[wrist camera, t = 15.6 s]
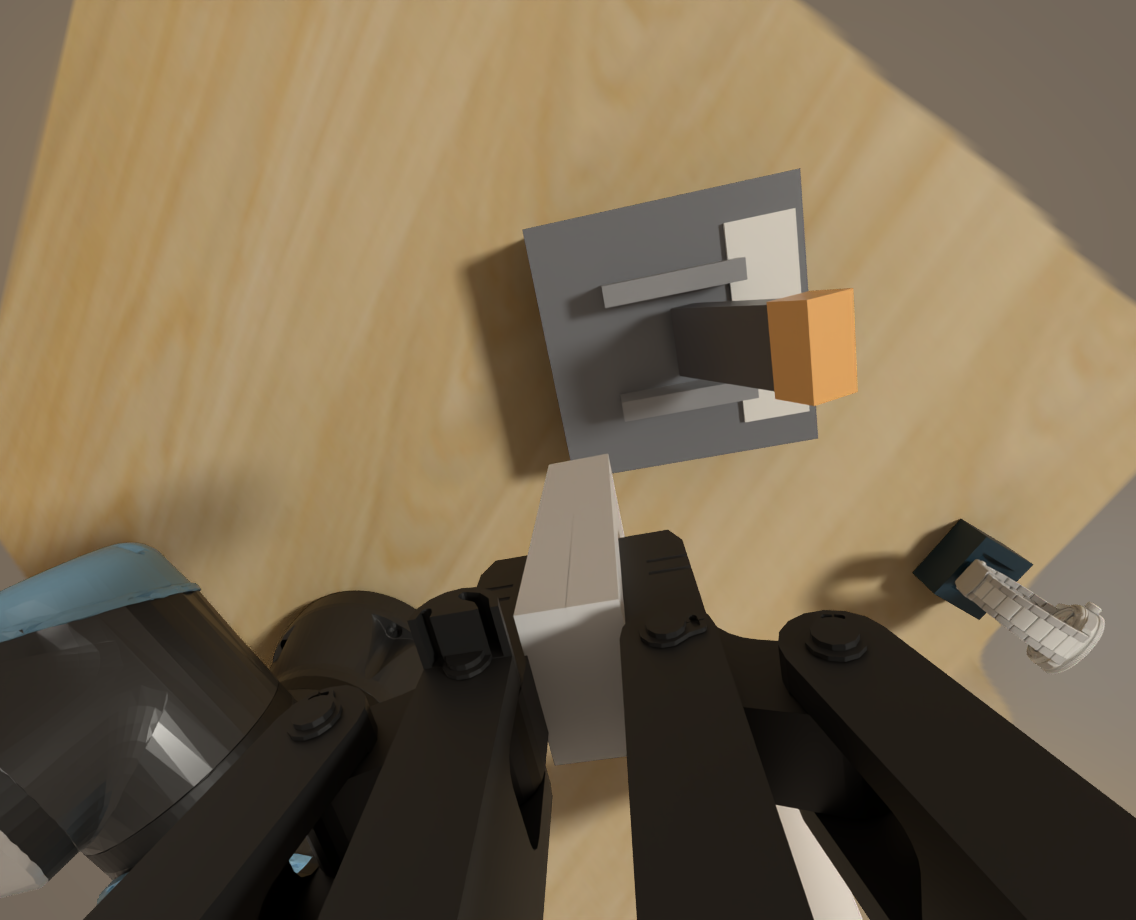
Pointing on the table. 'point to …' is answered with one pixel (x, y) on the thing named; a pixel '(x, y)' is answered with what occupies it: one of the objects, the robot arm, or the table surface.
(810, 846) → the bottle
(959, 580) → the watch
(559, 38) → the table surface
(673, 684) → the robot arm
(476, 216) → the table surface
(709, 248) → the box
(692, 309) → the lever
